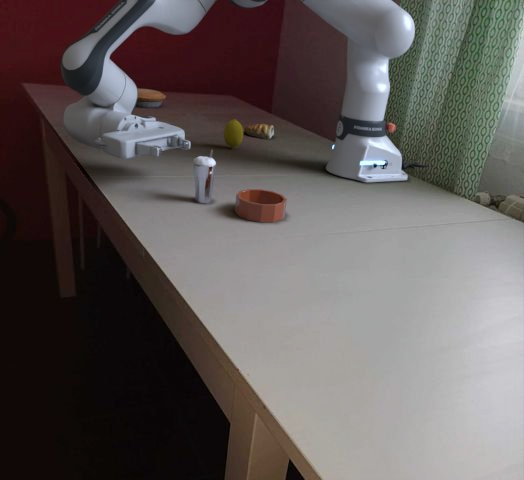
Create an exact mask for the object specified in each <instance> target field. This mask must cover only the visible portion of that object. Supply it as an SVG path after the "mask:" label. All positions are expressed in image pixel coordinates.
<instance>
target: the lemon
mask: <svg viewBox="0 0 524 480" xmlns="http://www.w3.org/2000/svg"><path fill="white" fill-rule="evenodd" d="M223 139H224V141H225V144H226V145H227V146H229V147H230V148H231V149H232V150H234V149H235V148H236V147H238V146H239V145H240V144H241V143H242V142H243V140H244V128H243V126H242V124H241V123H240V122H239V121H238V120H237V119H235V118H234V119H232V120H230V121H228V122H227V123H226V124H225V126H224V130H223Z"/></svg>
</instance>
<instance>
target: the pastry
mask: <svg viewBox="0 0 524 480" xmlns="http://www.w3.org/2000/svg"><path fill="white" fill-rule="evenodd" d="M244 132H245V134H247V135H249V136H250V137H251V136H252V137H256V138H259V139H260V138H262V139H266V140H267V139H269V140H270V139H272V137H273V136H274V135H275V129H274V125H273V124H269V125H268V124H265V123H256V124H252V125H251V124H250V125H246V126H245V127H244Z"/></svg>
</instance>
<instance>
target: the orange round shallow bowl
mask: <svg viewBox="0 0 524 480" xmlns="http://www.w3.org/2000/svg"><path fill="white" fill-rule="evenodd" d="M287 202H288V201H287V197H285V196H284V195H283V194H281V193H278V192H276V191H273V190H268V189H262V188H259V189H258V188H248V189H243V190H240V191H238V192H237V193H236V195H235V206H234V207H235V208H234V212H235V213H236V215H237V216H238V217H239V218H243V219H245V220H247V221H252V222H256V223H275V222H278V221H282V220H283V219H284V218H285V215H286V208H287Z"/></svg>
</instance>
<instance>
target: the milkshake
mask: <svg viewBox="0 0 524 480" xmlns="http://www.w3.org/2000/svg"><path fill="white" fill-rule="evenodd" d="M213 154H214V149H210V154H209V156H204V155H203V156H202V155H199V156H197V157H195V158H194V159H193V173H194V195H195V196H194V197H195V202H197V203H199V204H209V203H211V202H212V195H213V189H214V188H213V187H214V180H215V173H216V166H217V162H216V160H215V159H214V158H213Z"/></svg>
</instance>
